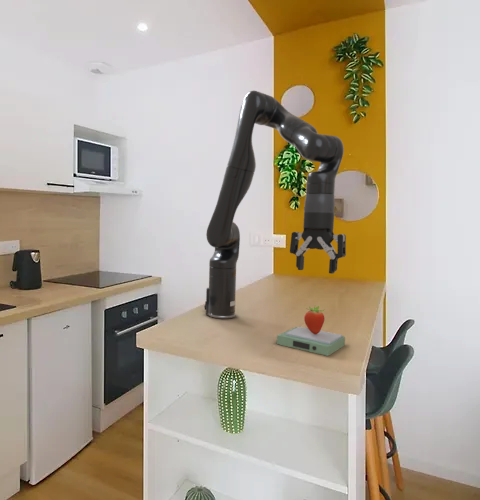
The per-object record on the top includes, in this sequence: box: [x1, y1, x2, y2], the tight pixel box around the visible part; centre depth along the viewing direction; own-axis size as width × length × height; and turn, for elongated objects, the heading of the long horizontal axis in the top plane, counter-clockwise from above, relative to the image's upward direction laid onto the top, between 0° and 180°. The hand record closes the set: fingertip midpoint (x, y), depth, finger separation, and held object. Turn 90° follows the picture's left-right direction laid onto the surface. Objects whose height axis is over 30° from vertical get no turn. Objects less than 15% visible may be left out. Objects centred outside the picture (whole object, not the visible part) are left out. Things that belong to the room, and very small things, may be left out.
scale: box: [276, 326, 346, 357], centre depth 114 cm, size 14×12×3 cm
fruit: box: [303, 305, 326, 334], centre depth 114 cm, size 5×5×8 cm
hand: (315, 271), depth 113 cm, fingers open, 8 cm apart
